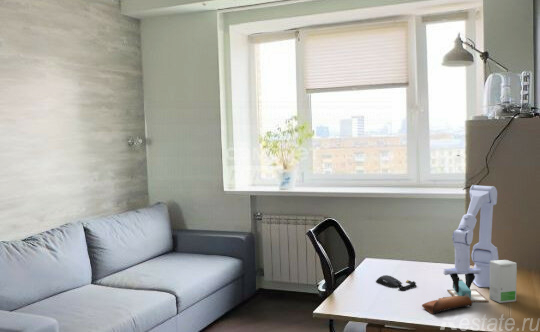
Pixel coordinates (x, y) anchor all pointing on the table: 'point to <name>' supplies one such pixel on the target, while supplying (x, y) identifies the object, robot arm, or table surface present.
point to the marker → (463, 289)
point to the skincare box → (503, 281)
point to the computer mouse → (394, 282)
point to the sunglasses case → (447, 303)
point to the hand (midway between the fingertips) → (462, 291)
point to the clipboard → (472, 295)
